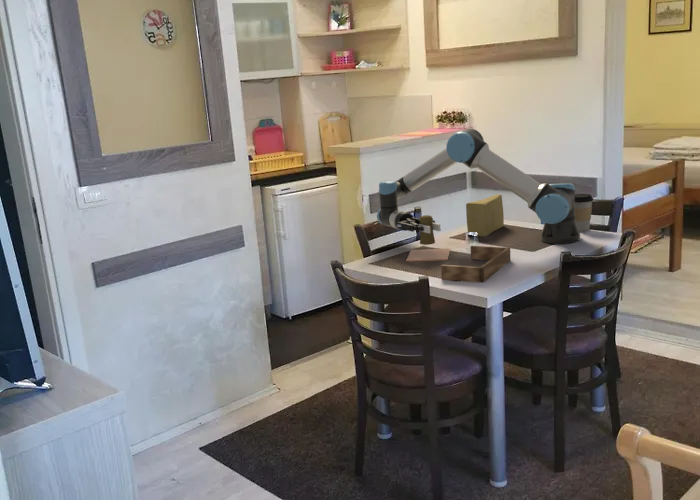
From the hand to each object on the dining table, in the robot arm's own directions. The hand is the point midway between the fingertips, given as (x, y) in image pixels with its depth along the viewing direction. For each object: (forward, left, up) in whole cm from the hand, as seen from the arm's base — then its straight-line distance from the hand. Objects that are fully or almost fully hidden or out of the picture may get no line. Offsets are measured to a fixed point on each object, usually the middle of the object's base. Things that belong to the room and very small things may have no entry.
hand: (434, 228), depth 265 cm
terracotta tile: (+3, -4, -12) cm, 13 cm away
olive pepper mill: (+4, -4, -7) cm, 9 cm away
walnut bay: (-16, +18, -12) cm, 27 cm away
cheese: (-20, -43, -12) cm, 49 cm away
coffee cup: (-59, -37, -12) cm, 70 cm away
